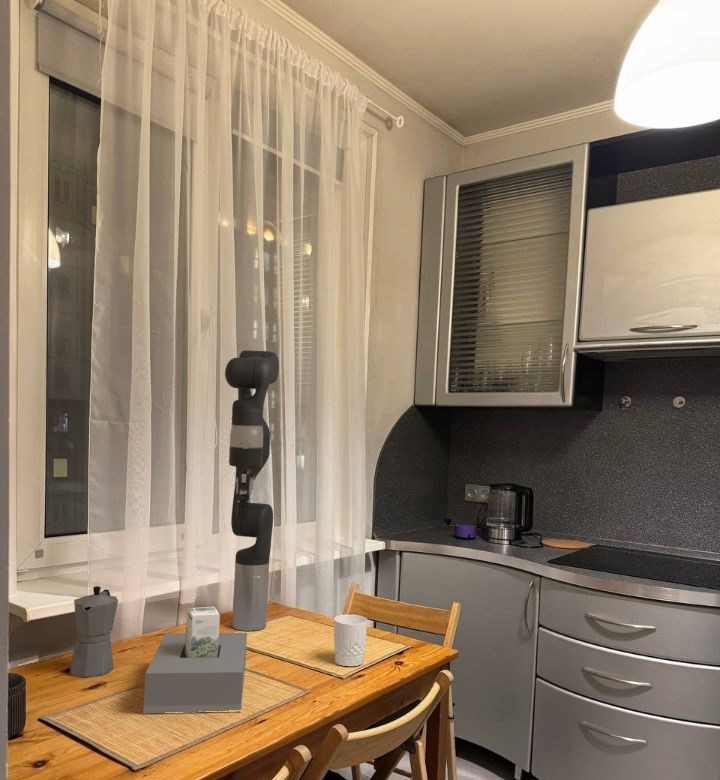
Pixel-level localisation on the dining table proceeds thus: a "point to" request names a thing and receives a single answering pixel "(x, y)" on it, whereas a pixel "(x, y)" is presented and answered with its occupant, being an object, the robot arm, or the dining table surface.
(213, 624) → the syrup box
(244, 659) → the post block
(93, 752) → the dining table surface
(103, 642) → the coffeepot
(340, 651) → the white cup
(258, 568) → the robot arm
